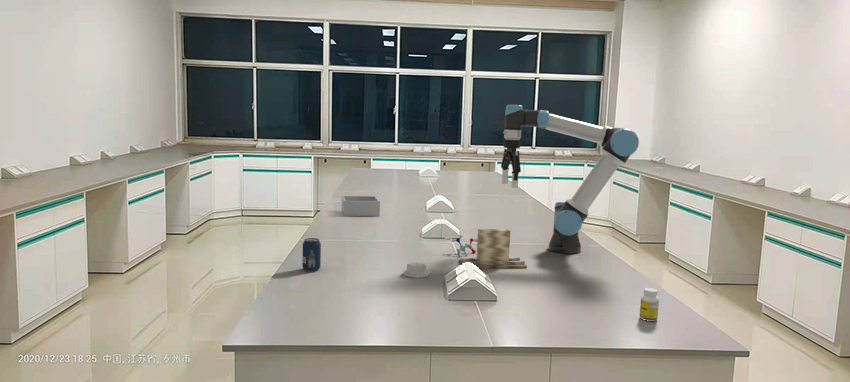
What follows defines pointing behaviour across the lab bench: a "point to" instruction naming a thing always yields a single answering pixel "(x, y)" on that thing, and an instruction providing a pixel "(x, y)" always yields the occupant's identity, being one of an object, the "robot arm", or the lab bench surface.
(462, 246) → the molecular model
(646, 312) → the supplement bottle
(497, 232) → the door panel
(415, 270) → the mechanical component
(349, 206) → the storage crate
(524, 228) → the lab bench surface
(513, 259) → the track board
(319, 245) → the soda can
